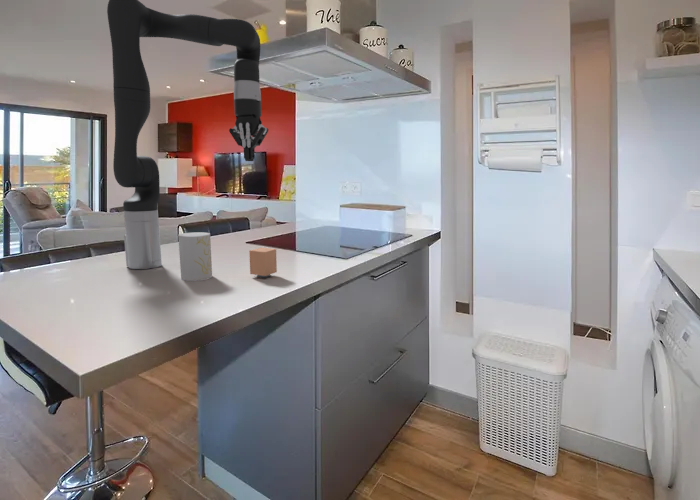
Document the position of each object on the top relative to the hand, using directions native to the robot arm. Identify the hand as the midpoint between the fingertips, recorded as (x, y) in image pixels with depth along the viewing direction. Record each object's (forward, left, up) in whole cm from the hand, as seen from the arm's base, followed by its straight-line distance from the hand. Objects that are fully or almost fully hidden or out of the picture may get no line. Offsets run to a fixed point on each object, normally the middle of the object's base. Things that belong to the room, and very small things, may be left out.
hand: (249, 161), depth 124 cm
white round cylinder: (-6, -17, -32) cm, 37 cm away
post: (+10, -8, -32) cm, 34 cm away
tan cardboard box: (+10, -8, -31) cm, 34 cm away
